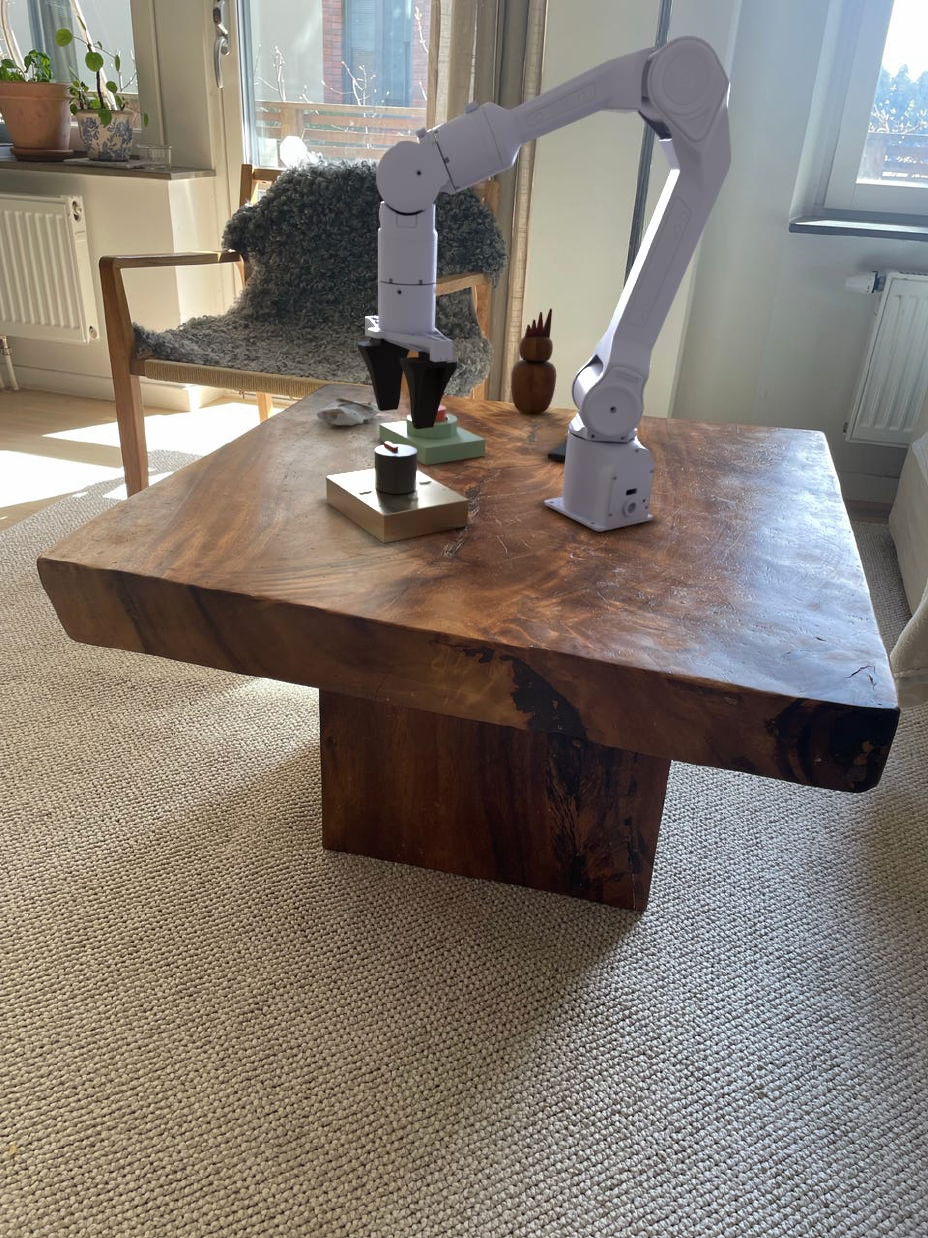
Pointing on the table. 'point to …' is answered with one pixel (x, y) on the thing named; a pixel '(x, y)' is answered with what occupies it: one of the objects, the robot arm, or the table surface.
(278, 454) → the table surface
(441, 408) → the button
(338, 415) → the stone
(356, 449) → the table surface
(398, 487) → the dial
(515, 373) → the wooden figurine
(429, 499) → the panel
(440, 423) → the button block
